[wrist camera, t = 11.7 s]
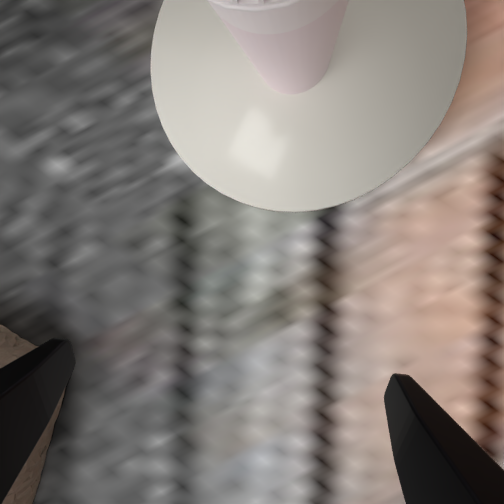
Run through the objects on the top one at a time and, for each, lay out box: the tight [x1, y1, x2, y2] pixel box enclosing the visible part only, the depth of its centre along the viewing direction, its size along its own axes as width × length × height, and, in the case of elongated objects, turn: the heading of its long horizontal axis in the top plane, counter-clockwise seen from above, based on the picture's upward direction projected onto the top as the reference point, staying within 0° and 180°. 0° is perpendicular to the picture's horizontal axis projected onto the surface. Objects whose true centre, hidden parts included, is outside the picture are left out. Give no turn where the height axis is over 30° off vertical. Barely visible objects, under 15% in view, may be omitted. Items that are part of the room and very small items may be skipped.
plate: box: [151, 0, 467, 213], centre depth 18 cm, size 16×16×1 cm
